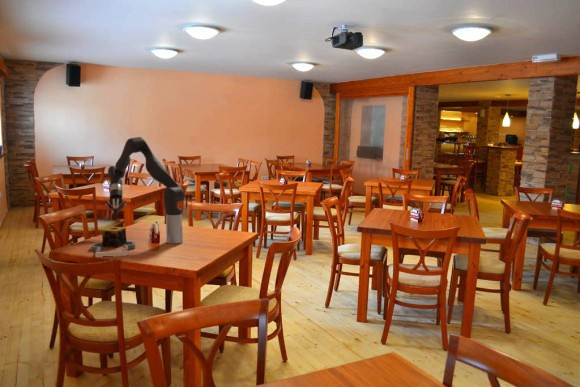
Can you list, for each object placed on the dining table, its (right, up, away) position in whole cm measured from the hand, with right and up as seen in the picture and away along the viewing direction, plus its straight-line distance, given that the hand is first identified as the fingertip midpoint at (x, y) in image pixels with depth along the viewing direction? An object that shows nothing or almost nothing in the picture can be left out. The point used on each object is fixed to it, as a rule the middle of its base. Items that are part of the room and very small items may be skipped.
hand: (115, 214), depth 300 cm
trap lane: (+9, -19, -30) cm, 37 cm away
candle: (+6, -17, -17) cm, 25 cm away
